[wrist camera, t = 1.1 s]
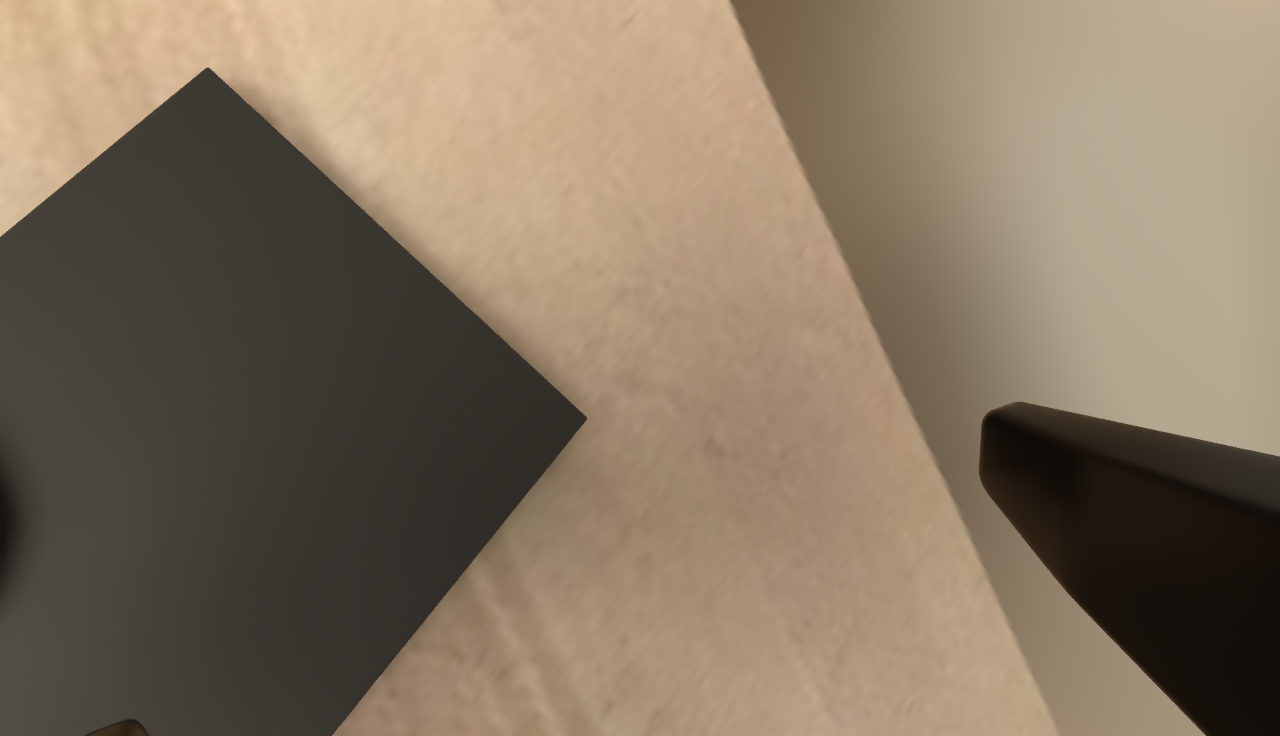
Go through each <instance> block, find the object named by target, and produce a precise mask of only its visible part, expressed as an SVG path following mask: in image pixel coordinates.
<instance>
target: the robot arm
mask: <svg viewBox="0 0 1280 736" xmlns="http://www.w3.org/2000/svg"><path fill="white" fill-rule="evenodd" d="M979 475H980V479H981V482H982V485H983V487H984V488H985V490H986V492H987V493H988V495H989V496H990V497H991V498H992V500H993V501H994V502H995V504H996V505H997V506H998V507H999V508H1000V510H1001V511H1002V512H1003V514H1004V515H1005V516H1006V517H1007V519H1008V520H1009V521H1010V522H1011V523H1012V525H1013V526H1014V527H1015V529H1016V530H1017V531H1018V532H1019V534H1021V536H1022V537H1023V539H1024V540H1025V541H1026V542H1027V544H1028V545H1029V546H1030V547H1031V549H1032V550H1033V551H1034V552H1035V553H1036V555H1037V556H1038V557H1039V558H1040V560H1041V561H1042V562H1043V564H1044V565H1045V566H1046V567H1047V569H1048V570H1049V571H1050V572H1051V573H1052V575H1053V576H1054V577H1055V579H1056V580H1057V581H1058V582H1059V583H1060V584H1061V586H1063V588H1064V589H1065V590H1066V591H1067V593H1068V594H1069V595H1070V596H1071V597H1072V598H1073V599H1074V600H1075V601H1076V602H1077V603H1078V604H1079V606H1080V607H1081V608H1082V609H1083V610H1084V611H1085V612H1086V613H1087V614H1088V615H1089V616H1090V617H1091V618H1092V619H1093V620H1094V621H1095V622H1096V623H1097V624H1098V625H1099V626H1100V627H1101V628H1102V629H1103V630H1104V631H1105V633H1107V635H1108V636H1109V637H1110V638H1111V639H1112V640H1113V641H1114V642H1115V643H1116V644H1117V645H1118V646H1119V647H1120V648H1121V649H1122V650H1123V651H1124V652H1125V653H1126V654H1127V655H1128V656H1129V657H1130V658H1131V659H1132V660H1133V661H1134V662H1135V663H1136V664H1137V665H1138V666H1139V667H1140V668H1141V669H1142V670H1143V671H1144V673H1145V674H1146V675H1147V676H1148V677H1149V678H1150V679H1151V680H1152V681H1153V682H1154V683H1155V684H1156V685H1157V686H1158V687H1159V688H1160V689H1161V690H1162V691H1163V692H1164V693H1165V694H1166V695H1167V696H1168V697H1169V698H1170V699H1171V700H1172V701H1173V702H1174V703H1175V704H1176V705H1177V706H1178V707H1179V708H1180V710H1181V711H1182V712H1183V713H1184V714H1185V715H1186V716H1187V717H1188V718H1189V719H1190V720H1191V721H1192V722H1193V723H1194V724H1195V725H1196V726H1197V727H1198V728H1199V729H1200V730H1201V731H1202V732H1203V733H1204V734H1205V735H1206V736H1280V457H1279V456H1274V455H1270V454H1265V453H1260V452H1256V451H1251V450H1245V449H1241V448H1237V447H1232V446H1227V445H1223V444H1217V443H1213V442H1208V441H1203V440H1199V439H1194V438H1190V437H1184V436H1180V435H1175V434H1171V433H1166V432H1161V431H1157V430H1152V429H1147V428H1142V427H1138V426H1133V425H1128V424H1124V423H1119V422H1114V421H1110V420H1105V419H1100V418H1095V417H1090V416H1086V415H1081V414H1077V413H1072V412H1067V411H1062V410H1058V409H1053V408H1048V407H1043V406H1038V405H1034V404H1029V403H1025V402H1015V403H1011V404H1008V405H1005V406H1002V407H999V408H997V409H994V410H991V411H989V412H988V413H987V414H986V415H985V416H984V418H983V421H982V426H981V442H980V458H979ZM85 736H149V734H148V732H147V731H146V729H145V728H144V726H143V725H142V724H141V723H140V722H139V721H137V720H135V719H125V720H123V721H120V722H117V723H114V724H111V725H109V726H106V727H103V728H100V729H97V730H95V731H92V732H90V733H88V734H86V735H85Z"/></svg>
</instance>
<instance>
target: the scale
mask: <svg viewBox="0 0 1280 736" xmlns="http://www.w3.org/2000/svg"><path fill="white" fill-rule="evenodd" d="M586 420H587V417H586V416H585V415H584V414H583V413H582V412H580V411H579V410H578V409H577V408H576V407H575V406H574V405H573V404H572V403H571V402H570V401H569V400H568V399H566V398H565V397H564V396H563V395H562V394H561V393H560V392H559V391H558V390H557V389H556V388H555V387H553V386H552V385H551V384H550V383H549V382H548V381H547V380H546V379H545V378H544V377H543V376H542V375H540V374H539V373H538V372H537V371H536V370H535V369H534V368H533V367H532V366H531V365H530V364H529V363H528V362H526V361H525V360H524V359H523V358H522V357H521V356H520V355H519V354H518V353H517V352H516V351H515V350H513V349H512V348H511V347H510V346H509V345H508V344H507V343H506V342H505V341H504V340H503V339H502V338H501V337H499V336H498V335H497V334H496V333H495V332H494V331H493V330H492V329H491V328H490V327H489V326H488V325H486V324H485V323H484V322H483V321H482V320H481V319H480V318H479V317H478V316H477V315H476V314H475V313H473V312H472V311H471V310H470V309H469V308H468V307H467V306H466V305H465V304H464V303H463V302H462V301H461V300H459V299H458V298H457V297H456V296H455V295H454V294H453V293H452V292H451V291H450V290H449V289H448V288H446V287H445V286H444V285H443V284H442V283H441V282H440V281H439V280H438V279H437V278H436V277H435V276H433V275H432V274H431V273H430V272H429V271H428V270H427V269H426V268H425V267H424V266H423V265H422V264H421V263H419V262H418V261H417V260H416V259H415V258H414V257H413V256H412V255H411V254H410V253H409V252H408V251H406V250H405V249H404V248H403V247H402V246H401V245H400V244H399V243H398V242H397V241H396V240H395V239H394V238H392V237H391V236H390V235H389V234H388V233H387V232H386V231H385V230H384V229H383V228H382V227H381V226H379V225H378V224H377V223H376V222H375V221H374V220H373V219H372V218H371V217H370V216H369V215H368V214H366V213H365V212H364V211H363V210H362V209H361V208H360V207H359V206H358V205H357V204H356V203H355V202H354V201H352V200H351V199H350V198H349V197H348V196H347V195H346V194H345V193H344V192H343V191H342V190H341V189H339V188H338V187H337V186H336V185H335V184H334V183H333V182H332V181H331V180H330V179H329V178H328V177H326V176H325V175H324V174H323V173H322V172H321V171H320V170H319V169H318V168H317V167H316V166H315V165H314V164H312V163H311V162H310V161H309V160H308V159H307V158H306V157H305V156H304V155H303V154H302V153H301V152H299V151H298V150H297V149H296V148H295V147H294V146H293V145H292V144H291V143H290V142H289V141H288V140H287V139H285V138H284V137H283V136H282V135H281V134H280V133H279V132H278V131H277V130H276V129H275V128H274V127H272V126H271V125H270V124H269V123H268V122H267V121H266V120H265V119H264V118H263V117H262V116H261V115H259V114H258V113H257V112H256V111H255V110H254V109H253V108H252V107H251V106H250V105H249V104H248V103H247V102H245V101H244V100H243V99H242V98H241V97H240V96H239V95H238V94H237V93H236V92H235V91H234V90H232V89H231V88H230V87H229V86H228V85H227V84H226V83H225V82H224V81H223V80H222V79H221V78H220V77H218V76H217V75H216V74H215V73H214V72H213V71H212V70H211V69H210V68H206V69H204V70H203V71H202V72H201V73H200V74H198V75H197V76H196V77H195V78H193V79H192V80H191V81H190V82H189V83H187V84H186V85H185V86H184V87H182V88H181V89H180V90H179V91H178V92H176V93H175V94H174V95H173V96H171V97H170V98H169V99H168V100H167V101H165V102H164V103H163V104H162V105H161V106H159V107H158V108H157V109H156V110H154V111H153V112H152V113H151V114H150V115H148V116H147V117H146V118H145V119H143V120H142V121H141V122H140V123H139V124H137V125H136V126H135V127H134V128H132V129H131V130H130V131H129V132H128V133H126V134H125V135H124V136H123V137H122V138H120V139H119V140H118V141H117V142H115V143H114V144H113V145H112V146H111V147H109V148H108V149H107V150H106V151H104V152H103V153H102V154H101V155H100V156H98V157H97V158H96V159H95V160H93V161H92V162H91V163H90V164H89V165H87V166H86V167H85V168H84V169H83V170H81V171H80V172H79V173H78V174H76V175H75V176H74V177H73V178H72V179H70V180H69V181H68V182H67V183H65V184H64V185H63V186H62V187H61V188H59V189H58V190H57V191H56V192H55V193H53V194H52V195H51V196H50V197H48V198H47V199H46V200H45V201H44V202H42V203H41V204H40V205H39V206H37V207H36V208H35V209H34V210H33V211H31V212H30V213H29V214H28V215H26V216H25V217H24V218H23V219H22V220H20V221H19V222H18V223H17V224H16V225H14V226H13V227H12V228H11V229H9V230H8V231H7V232H6V233H5V234H3V235H2V236H1V237H0V736H85V735H86V734H88V733H90V732H92V731H95V730H97V729H100V728H103V727H106V726H109V725H111V724H114V723H117V722H120V721H123V720H125V719H135V720H137V721H139V722H140V723H141V724H142V725H143V726H144V728H145V729H146V731H147V732H148V734H149V736H332V735H333V733H334V732H335V731H336V730H337V728H338V727H339V726H340V725H341V724H342V722H343V721H344V720H345V719H346V717H347V716H348V715H349V714H350V712H351V711H352V710H353V709H354V707H355V706H356V705H357V704H358V702H359V701H360V700H361V699H362V697H363V696H364V695H365V694H366V693H367V691H368V690H369V689H370V688H371V686H372V685H373V684H374V683H375V681H376V680H377V679H378V678H379V676H380V675H381V674H382V673H383V671H384V670H385V669H386V668H387V666H388V665H389V664H390V663H391V662H392V660H393V659H394V658H395V657H396V655H397V654H398V653H399V652H400V650H401V649H402V648H403V647H404V645H405V644H406V643H407V642H408V640H409V639H410V638H411V637H412V635H413V634H414V633H415V632H416V631H417V629H418V628H419V627H420V626H421V624H422V623H423V622H424V621H425V619H426V618H427V617H428V616H429V614H430V613H431V612H432V611H433V609H434V608H435V607H436V606H437V604H438V603H439V602H440V601H441V600H442V598H443V597H444V596H445V595H446V593H447V592H448V591H449V590H450V588H451V587H452V586H453V585H454V583H455V582H456V581H457V580H458V578H459V577H460V576H461V575H462V573H463V572H464V571H465V570H466V569H467V567H468V566H469V565H470V564H471V562H472V561H473V560H474V559H475V557H476V556H477V555H478V554H479V552H480V551H481V550H482V549H483V547H484V546H485V545H486V544H487V542H488V541H489V540H490V539H491V538H492V536H493V535H494V534H495V533H496V531H497V530H498V529H499V528H500V526H501V525H502V524H503V523H504V521H505V520H506V519H507V518H508V516H509V515H510V514H511V513H512V511H513V510H514V509H515V508H516V507H517V505H518V504H519V503H520V502H521V500H522V499H523V498H524V497H525V495H526V494H527V493H528V492H529V490H530V489H531V488H532V487H533V485H534V484H535V483H536V482H537V480H538V479H539V478H540V477H541V476H542V474H543V473H544V472H545V471H546V469H547V468H548V467H549V466H550V464H551V463H552V462H553V461H554V459H555V458H556V457H557V456H558V454H559V453H560V452H561V451H562V449H563V448H564V447H565V446H566V445H567V443H568V442H569V441H570V440H571V438H572V437H573V436H574V435H575V433H576V432H577V431H578V430H579V428H580V427H581V426H582V425H583V423H584V422H585V421H586Z"/></svg>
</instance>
